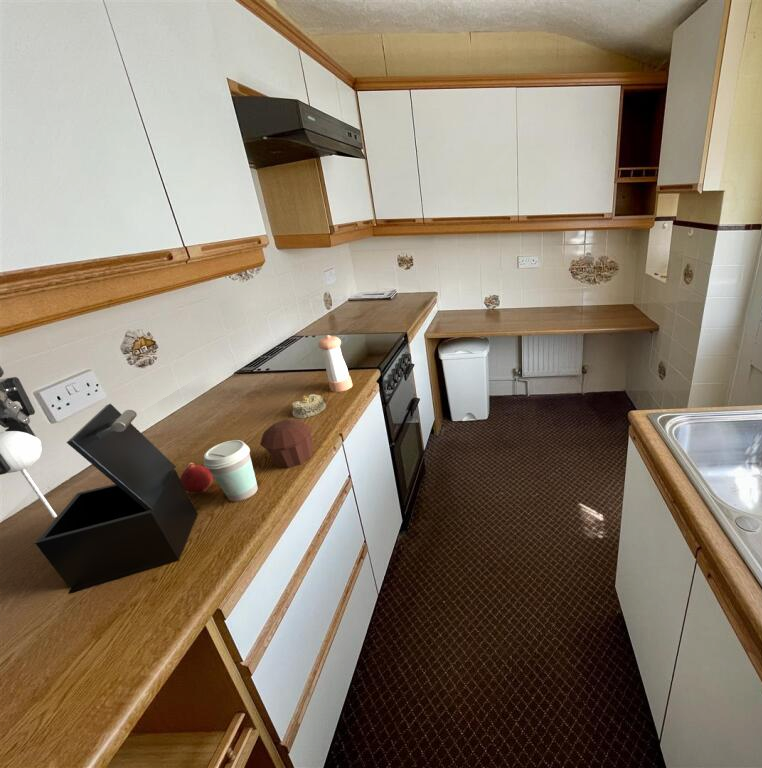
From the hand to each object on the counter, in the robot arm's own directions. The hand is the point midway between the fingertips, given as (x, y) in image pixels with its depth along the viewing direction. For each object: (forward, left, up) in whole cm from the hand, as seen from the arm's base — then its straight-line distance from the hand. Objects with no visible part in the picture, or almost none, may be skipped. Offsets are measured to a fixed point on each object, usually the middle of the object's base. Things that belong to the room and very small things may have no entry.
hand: (15, 460), depth 58 cm
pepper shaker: (+40, +70, -28) cm, 86 cm away
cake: (+30, +57, -28) cm, 71 cm away
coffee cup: (+17, +20, -28) cm, 39 cm away
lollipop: (0, 0, -11) cm, 11 cm away
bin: (+1, +10, -28) cm, 30 cm away
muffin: (+27, +30, -28) cm, 50 cm away
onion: (+8, +25, -28) cm, 39 cm away
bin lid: (+6, +10, -8) cm, 15 cm away
